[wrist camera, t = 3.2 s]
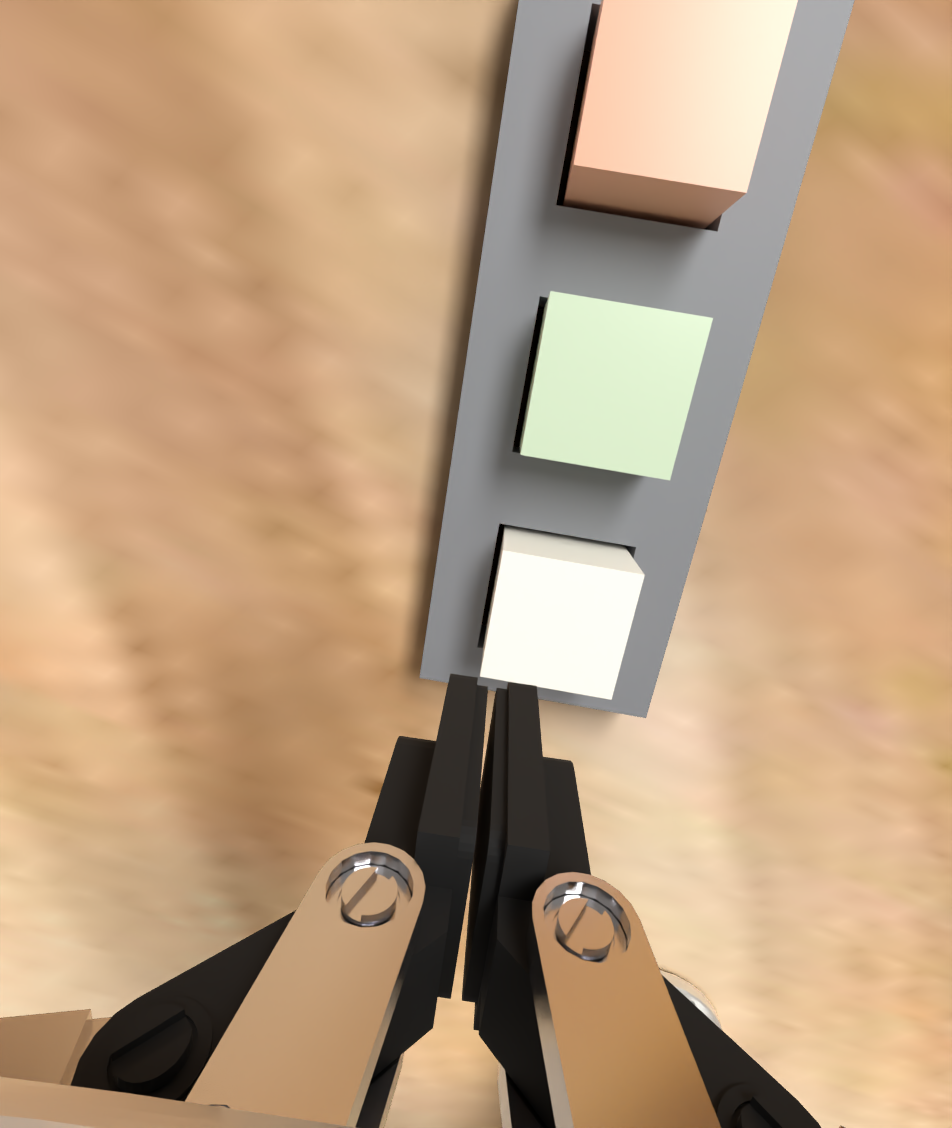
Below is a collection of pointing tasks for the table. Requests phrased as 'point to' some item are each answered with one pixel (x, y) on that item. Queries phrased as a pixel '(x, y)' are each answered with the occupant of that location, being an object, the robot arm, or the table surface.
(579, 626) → the cream key
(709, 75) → the terracotta key
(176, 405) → the table surface
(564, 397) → the sage key
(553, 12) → the key console
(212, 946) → the table surface
